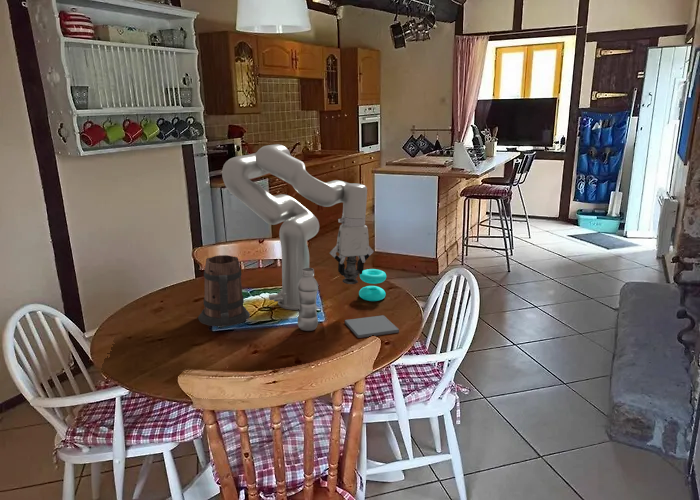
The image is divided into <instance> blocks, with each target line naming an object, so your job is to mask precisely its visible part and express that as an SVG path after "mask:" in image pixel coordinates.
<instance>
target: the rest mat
mask: <svg viewBox="0 0 700 500" xmlns="http://www.w3.org/2000/svg"><path fill="white" fill-rule="evenodd" d="M344 324H345V325H346V326H347V327H348V328H349V329H350V331H351V332H352V333H353V335H355V336H356V337H357V339H360V338H361V339H362V338H369V336H370V337H374V336H375V337H376V336H382V335H389V334H396V333H397V334H399V333H400V329H399V328H398V326H396V325H395V323H392V322H391V320H389V319H388V318H387V317H386V316H385V315H384V314H382V315H376V316H366V317H358V318H352V319H345V320H344ZM372 335H374V336H372Z"/></svg>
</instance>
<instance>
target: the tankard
mask: <svg viewBox="0 0 700 500" xmlns="http://www.w3.org/2000/svg"><path fill="white" fill-rule="evenodd" d="M203 279H204V297H203V305H204V306H203V307H204V308H203V309H202V310H201V312H200V314H199V315H198V321H199V323H201V324H202V325H207V326H208V327H209V326H210V327H211V326H212V327H231V326H235V325H238V324H242V323H244V322H246V321H247V320H249V318H250V316H251V314H250V311H248V310H247V307H245V305H244V301H245V300H244V295H243V288H242V287H243V286H242V269H241V266H240V263H239V258H238V256H233V255H227V254H224V255H220V254H219V255H215V256H211V257H208V258H206V260H205V267H204V270H203Z"/></svg>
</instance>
